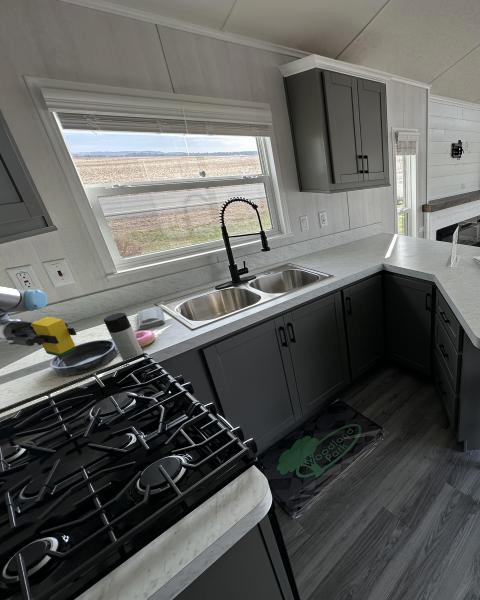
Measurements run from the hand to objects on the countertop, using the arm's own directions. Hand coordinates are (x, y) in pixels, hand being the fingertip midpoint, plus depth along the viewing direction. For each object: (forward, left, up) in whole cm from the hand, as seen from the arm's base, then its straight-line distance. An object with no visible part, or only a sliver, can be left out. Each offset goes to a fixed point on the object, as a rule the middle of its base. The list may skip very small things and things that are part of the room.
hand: (65, 335), depth 116 cm
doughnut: (+17, +12, -16) cm, 26 cm away
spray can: (+16, -3, -16) cm, 23 cm away
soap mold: (+19, +37, -16) cm, 44 cm away
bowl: (0, +8, -16) cm, 18 cm away
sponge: (-4, +4, -7) cm, 10 cm away
